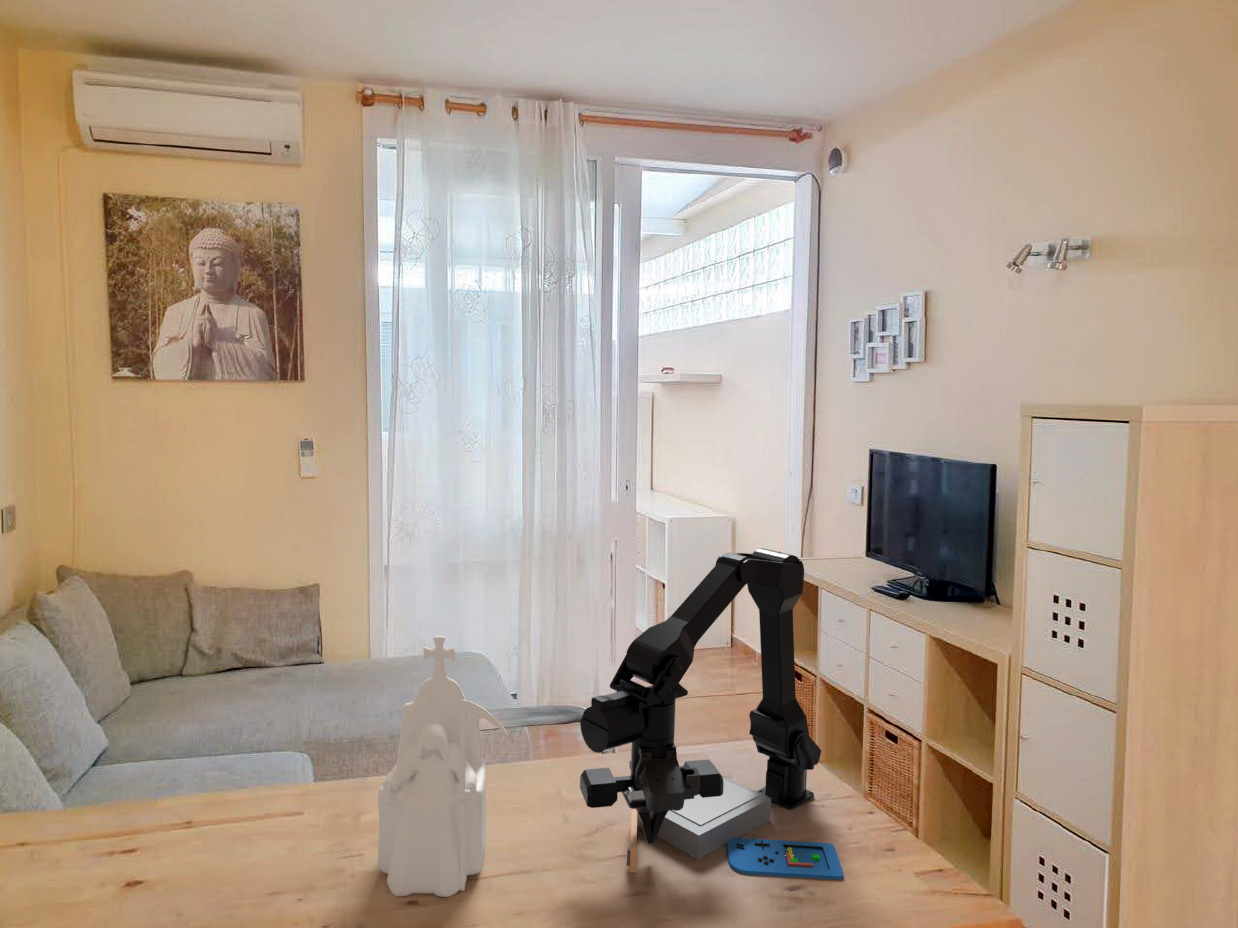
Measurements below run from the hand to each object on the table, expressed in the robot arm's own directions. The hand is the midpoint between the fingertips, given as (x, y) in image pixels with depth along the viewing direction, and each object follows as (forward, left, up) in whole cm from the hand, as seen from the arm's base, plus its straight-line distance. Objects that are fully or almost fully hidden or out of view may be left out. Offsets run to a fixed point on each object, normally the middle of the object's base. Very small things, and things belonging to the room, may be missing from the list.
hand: (649, 842), depth 120 cm
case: (-13, -1, -2) cm, 13 cm away
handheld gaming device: (-14, +12, -3) cm, 19 cm away
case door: (0, -3, -2) cm, 4 cm away
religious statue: (+22, -16, -2) cm, 27 cm away
